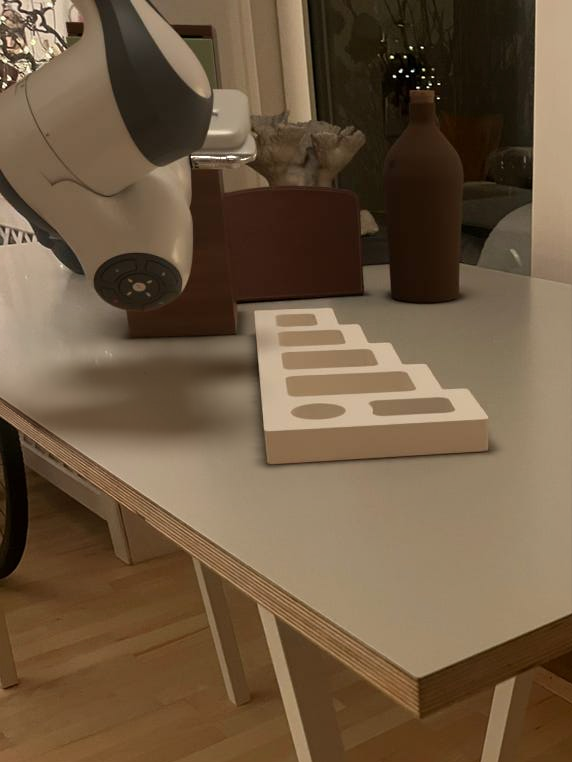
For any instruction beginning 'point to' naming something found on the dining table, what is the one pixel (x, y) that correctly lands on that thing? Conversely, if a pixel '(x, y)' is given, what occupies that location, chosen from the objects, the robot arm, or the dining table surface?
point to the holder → (353, 395)
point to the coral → (312, 164)
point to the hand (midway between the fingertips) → (140, 76)
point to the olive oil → (423, 208)
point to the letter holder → (295, 242)
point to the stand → (196, 246)
